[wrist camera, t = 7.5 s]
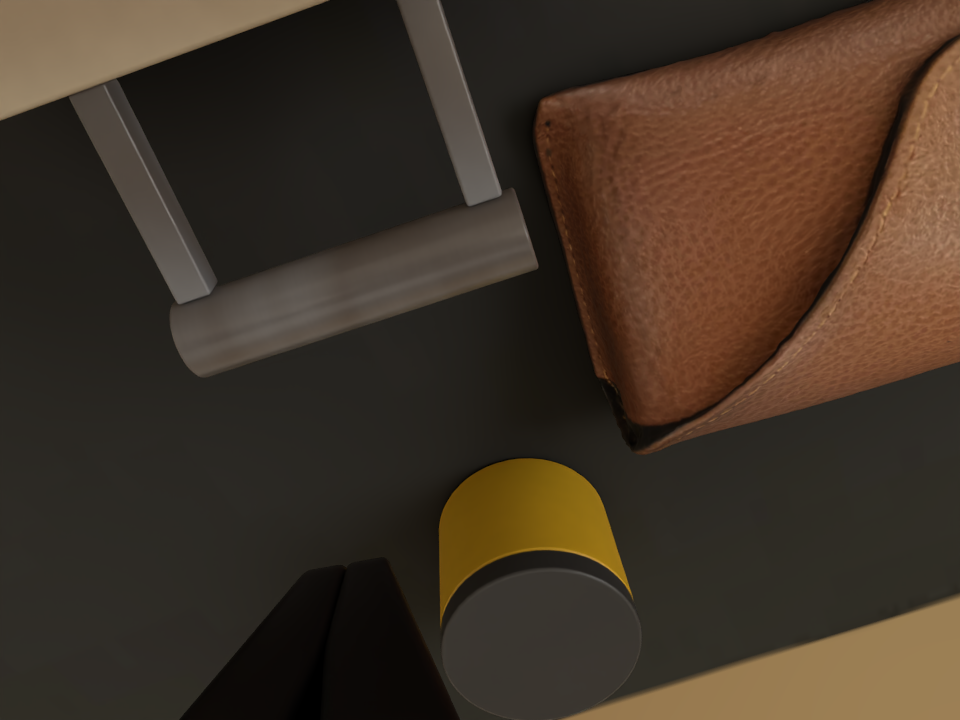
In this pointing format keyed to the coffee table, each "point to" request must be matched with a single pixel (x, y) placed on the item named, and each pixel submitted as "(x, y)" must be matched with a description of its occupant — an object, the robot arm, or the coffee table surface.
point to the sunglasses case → (764, 219)
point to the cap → (533, 593)
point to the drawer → (164, 227)
